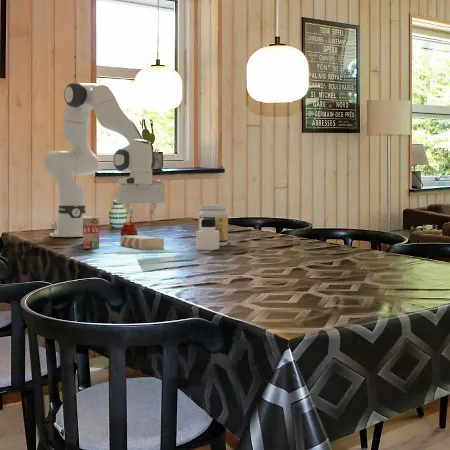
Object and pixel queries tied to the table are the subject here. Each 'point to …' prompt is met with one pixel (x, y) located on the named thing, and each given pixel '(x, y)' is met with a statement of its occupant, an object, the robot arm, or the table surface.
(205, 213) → the supplement tub
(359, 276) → the table surface
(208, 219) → the medicine bottle
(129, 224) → the red clay folk toy
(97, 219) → the stack of blocks
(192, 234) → the table surface
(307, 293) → the table surface
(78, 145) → the robot arm
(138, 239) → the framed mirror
